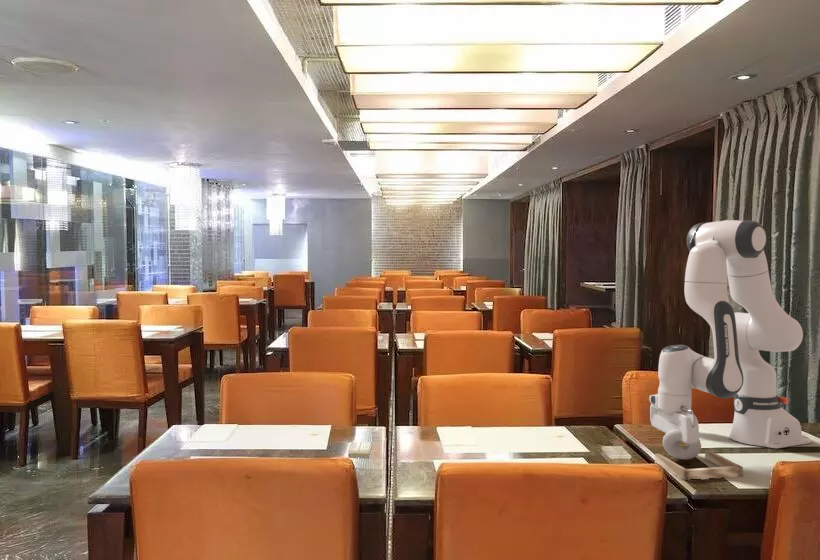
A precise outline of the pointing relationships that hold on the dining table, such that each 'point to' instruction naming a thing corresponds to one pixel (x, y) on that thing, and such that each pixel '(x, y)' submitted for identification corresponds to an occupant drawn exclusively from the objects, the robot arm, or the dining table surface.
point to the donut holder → (724, 470)
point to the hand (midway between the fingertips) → (673, 450)
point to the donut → (677, 451)
